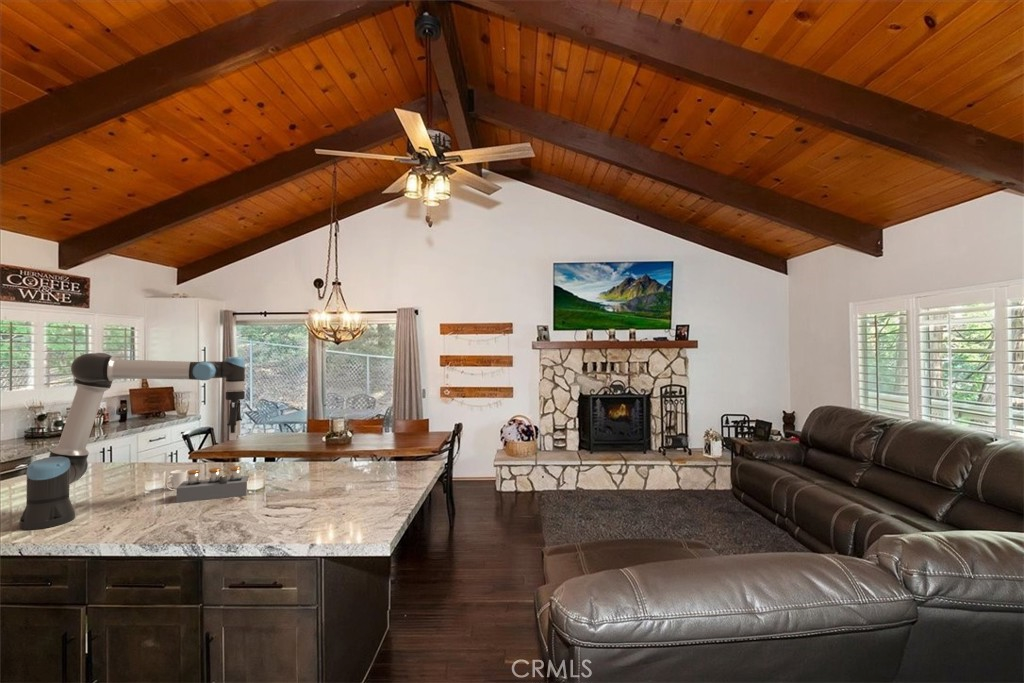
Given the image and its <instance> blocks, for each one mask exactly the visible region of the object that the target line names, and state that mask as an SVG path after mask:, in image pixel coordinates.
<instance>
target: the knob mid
mask: <svg viewBox="0 0 1024 683" xmlns="http://www.w3.org/2000/svg"><path fill="white" fill-rule="evenodd" d="M221 471H222V468H221V467H213V468H209V469H208V472H209V479H210V482H209V484H210V483H220V476H221Z"/></svg>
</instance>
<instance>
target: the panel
mask: <svg viewBox="0 0 1024 683" xmlns="http://www.w3.org/2000/svg"><path fill="white" fill-rule="evenodd" d="M248 478H249V479H250V475H240V481H232V482H230V476H229V477H228V476H227V483H226V484H220V483H210V484H209V482H210V478H209V479H199V485H188V480H186V481H183V482H182V483H181V485H180V486H179V487H178V488H177V490H176V503H186V502H187V503H188V502H189V503H190V502H195V501H196V502H199V501H205V500H216V499H225V498H226V499H228V498H235V497H244V496H247V494H248V492H247V481H248Z"/></svg>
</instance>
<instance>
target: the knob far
mask: <svg viewBox="0 0 1024 683" xmlns="http://www.w3.org/2000/svg"><path fill="white" fill-rule="evenodd" d="M241 469H242V466H240V465H236V466H231V467H229V473H230V474H229V475H230V476H229V477H230V482H232V481H240V476H241Z"/></svg>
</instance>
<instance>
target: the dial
mask: <svg viewBox="0 0 1024 683" xmlns="http://www.w3.org/2000/svg"><path fill="white" fill-rule="evenodd" d="M227 478H228V475H220V484H226V483H227Z"/></svg>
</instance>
